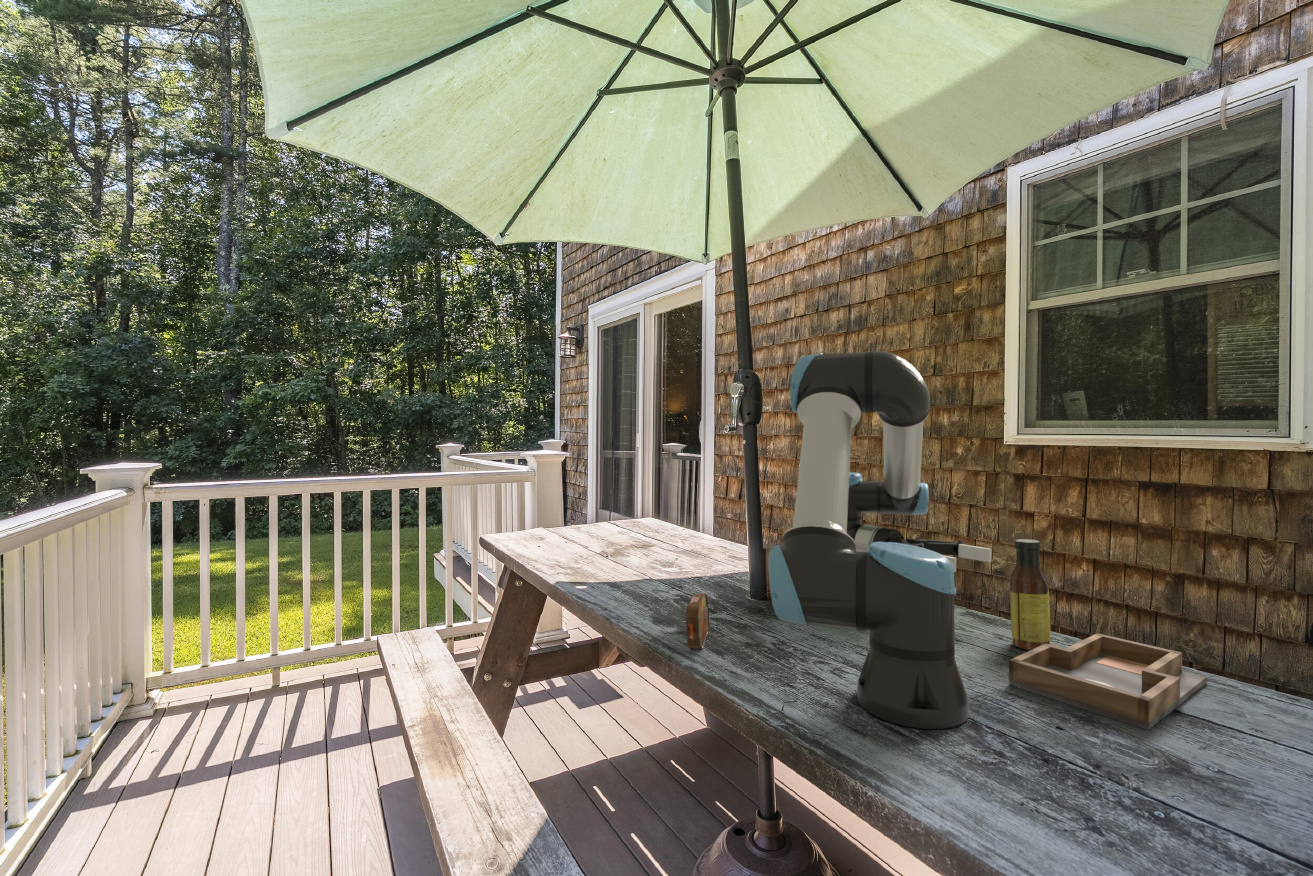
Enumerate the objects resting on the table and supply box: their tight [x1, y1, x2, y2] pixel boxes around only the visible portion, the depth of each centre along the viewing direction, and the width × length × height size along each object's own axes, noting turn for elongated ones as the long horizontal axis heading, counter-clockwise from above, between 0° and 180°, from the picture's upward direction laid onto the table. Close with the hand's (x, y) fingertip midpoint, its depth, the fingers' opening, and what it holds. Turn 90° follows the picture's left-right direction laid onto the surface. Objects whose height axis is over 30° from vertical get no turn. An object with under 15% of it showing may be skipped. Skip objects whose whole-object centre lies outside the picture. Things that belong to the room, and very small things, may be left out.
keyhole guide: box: [1008, 632, 1208, 731], centre depth 97 cm, size 26×18×4 cm
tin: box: [685, 592, 710, 650], centre depth 118 cm, size 15×3×8 cm, turn 168°
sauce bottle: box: [1009, 538, 1052, 652], centre depth 114 cm, size 6×6×20 cm
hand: (973, 560), depth 123 cm, fingers open, 13 cm apart
